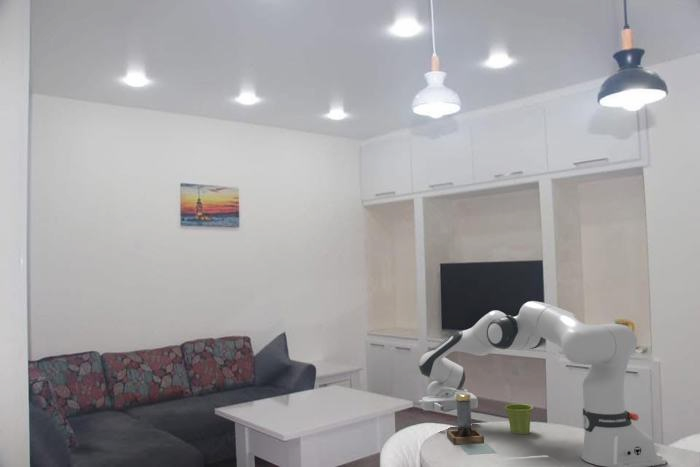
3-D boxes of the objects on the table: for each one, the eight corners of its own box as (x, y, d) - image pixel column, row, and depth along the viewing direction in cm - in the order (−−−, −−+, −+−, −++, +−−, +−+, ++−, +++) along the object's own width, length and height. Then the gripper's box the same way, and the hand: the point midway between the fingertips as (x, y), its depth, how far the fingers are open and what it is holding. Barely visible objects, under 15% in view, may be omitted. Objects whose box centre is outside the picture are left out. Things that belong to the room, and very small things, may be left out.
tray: (476, 436, 196) (475, 428, 196) (484, 444, 187) (483, 436, 187) (447, 438, 195) (446, 430, 195) (453, 446, 186) (453, 438, 186)
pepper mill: (470, 436, 194) (468, 393, 195) (474, 441, 189) (472, 396, 190) (456, 437, 193) (454, 393, 194) (460, 441, 189) (458, 396, 190)
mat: (487, 445, 185) (487, 444, 185) (496, 454, 176) (496, 452, 176) (460, 447, 184) (460, 445, 184) (468, 456, 175) (468, 454, 176)
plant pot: (500, 432, 200) (499, 407, 200) (517, 427, 205) (515, 402, 206) (523, 438, 192) (521, 411, 193) (539, 432, 198) (538, 406, 199)
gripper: (417, 392, 217) (425, 400, 203) (470, 389, 219) (481, 396, 205) (418, 409, 217) (425, 418, 203) (471, 405, 218) (482, 414, 204)
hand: (454, 407), depth 204 cm, fingers open, 8 cm apart
